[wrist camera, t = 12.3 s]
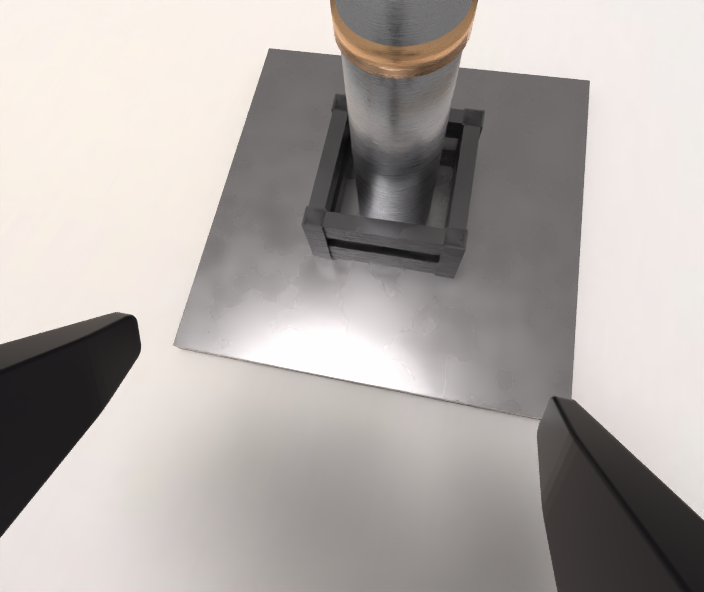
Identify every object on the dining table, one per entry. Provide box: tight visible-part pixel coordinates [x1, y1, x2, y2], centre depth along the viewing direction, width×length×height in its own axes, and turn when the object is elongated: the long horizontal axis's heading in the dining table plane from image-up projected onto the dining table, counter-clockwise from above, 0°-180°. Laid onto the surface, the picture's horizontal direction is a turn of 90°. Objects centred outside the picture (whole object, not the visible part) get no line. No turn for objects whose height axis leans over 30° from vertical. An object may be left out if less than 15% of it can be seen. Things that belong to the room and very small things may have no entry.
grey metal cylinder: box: [330, 0, 478, 225], centre depth 18 cm, size 4×4×14 cm
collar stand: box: [173, 48, 590, 420], centre depth 23 cm, size 20×20×4 cm
